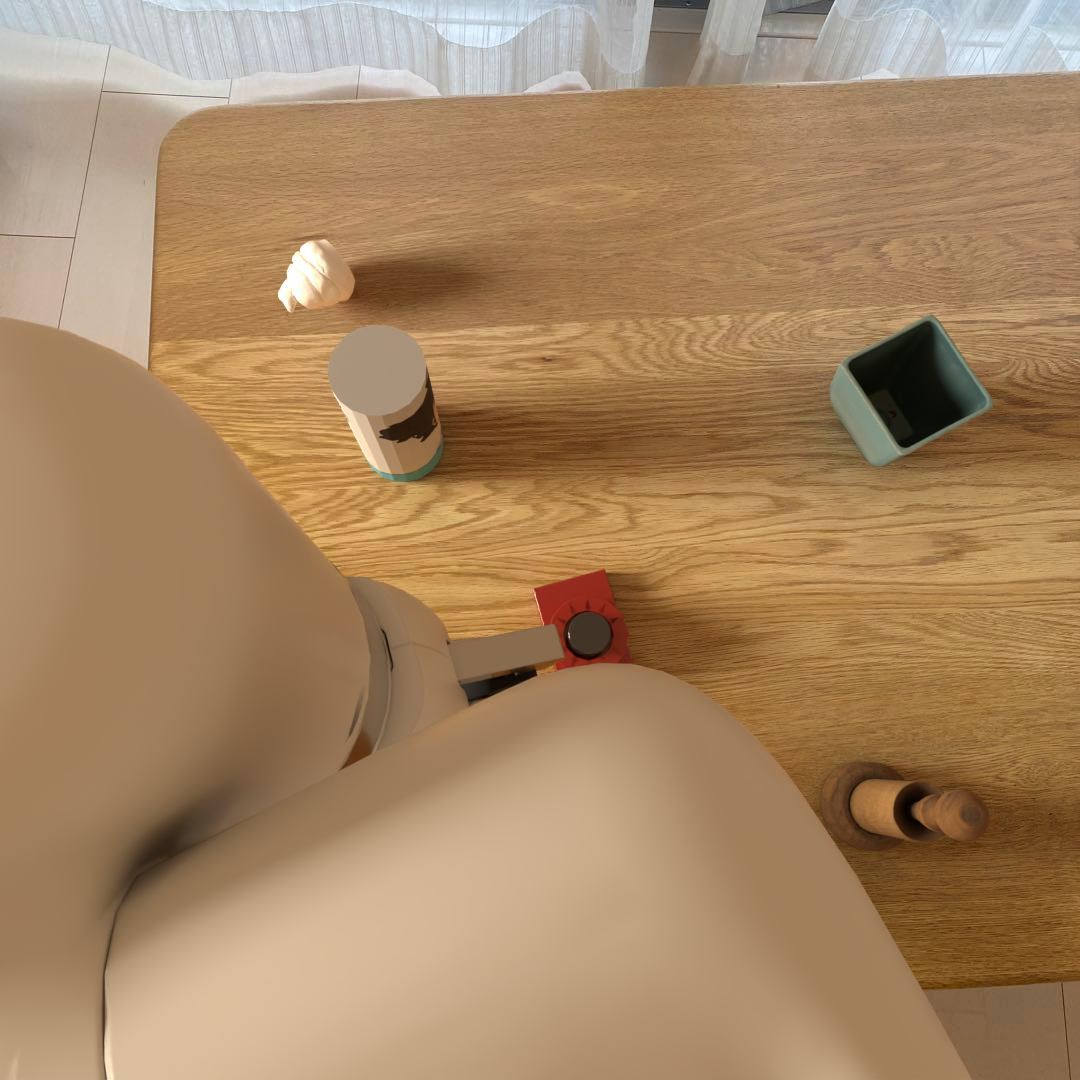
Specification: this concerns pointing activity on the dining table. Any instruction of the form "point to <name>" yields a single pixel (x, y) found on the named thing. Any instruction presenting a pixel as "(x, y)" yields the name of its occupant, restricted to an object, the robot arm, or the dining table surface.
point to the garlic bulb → (316, 277)
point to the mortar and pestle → (897, 809)
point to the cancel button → (588, 634)
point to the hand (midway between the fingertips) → (353, 725)
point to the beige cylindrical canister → (388, 401)
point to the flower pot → (906, 392)
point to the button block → (579, 597)
